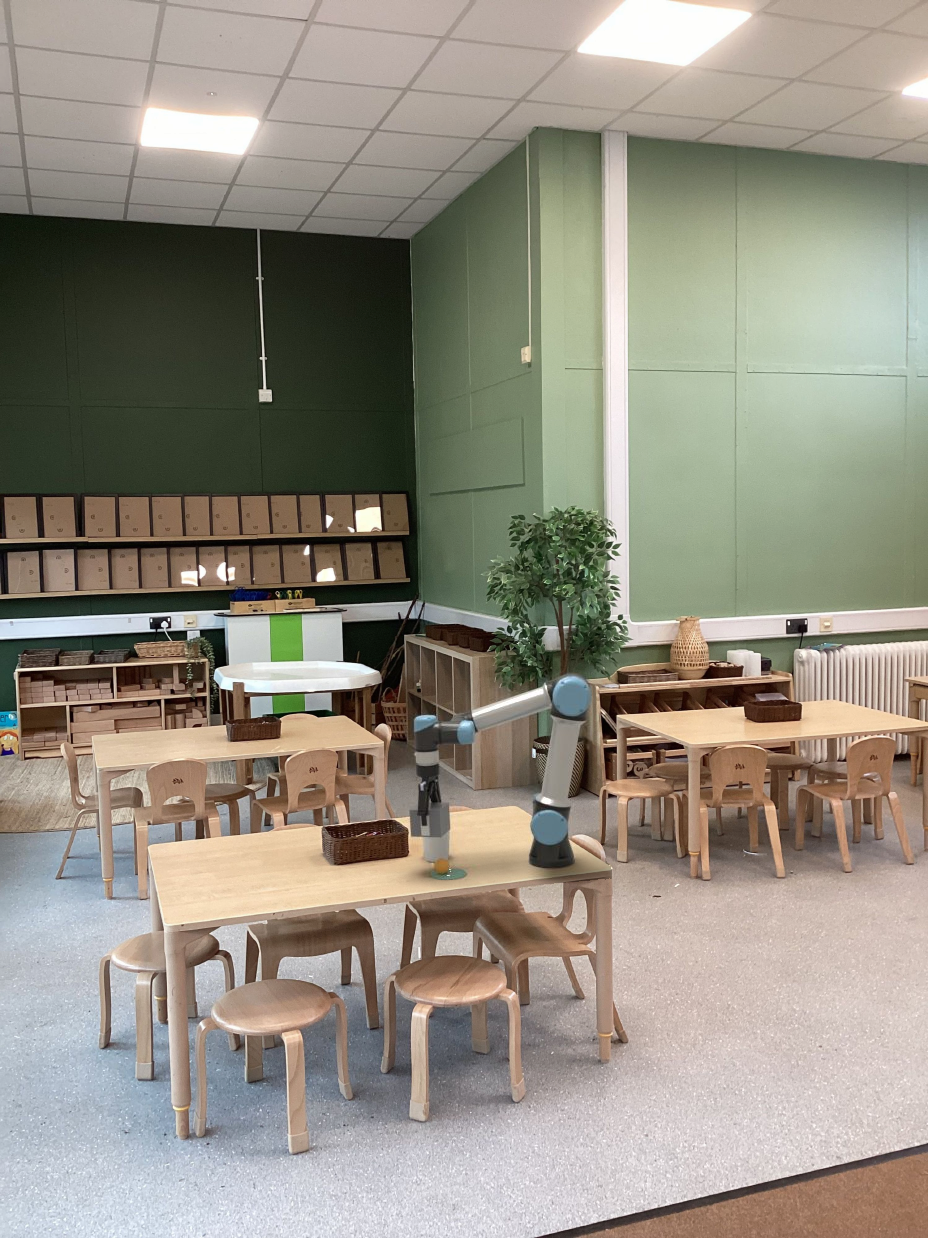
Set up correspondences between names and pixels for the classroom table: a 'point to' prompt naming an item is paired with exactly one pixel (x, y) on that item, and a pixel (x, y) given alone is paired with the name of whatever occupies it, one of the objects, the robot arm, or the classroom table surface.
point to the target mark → (453, 874)
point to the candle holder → (436, 847)
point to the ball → (441, 866)
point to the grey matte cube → (431, 820)
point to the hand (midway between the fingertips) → (431, 830)
